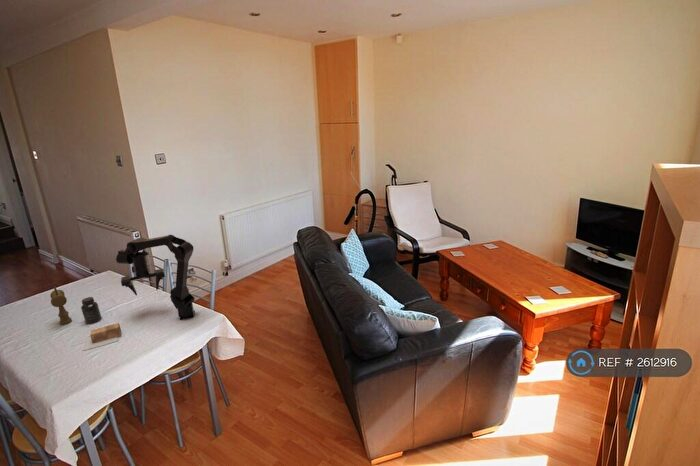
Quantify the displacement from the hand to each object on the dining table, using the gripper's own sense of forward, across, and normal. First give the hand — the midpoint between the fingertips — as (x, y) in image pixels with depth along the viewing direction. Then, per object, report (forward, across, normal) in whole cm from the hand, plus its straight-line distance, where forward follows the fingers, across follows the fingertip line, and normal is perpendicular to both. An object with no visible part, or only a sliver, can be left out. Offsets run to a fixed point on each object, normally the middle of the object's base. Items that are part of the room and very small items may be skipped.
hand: (146, 292), depth 184 cm
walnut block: (+10, +13, +13) cm, 21 cm away
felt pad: (+12, +21, +13) cm, 27 cm away
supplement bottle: (+12, +26, -9) cm, 30 cm away
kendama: (+12, +38, -15) cm, 42 cm away
